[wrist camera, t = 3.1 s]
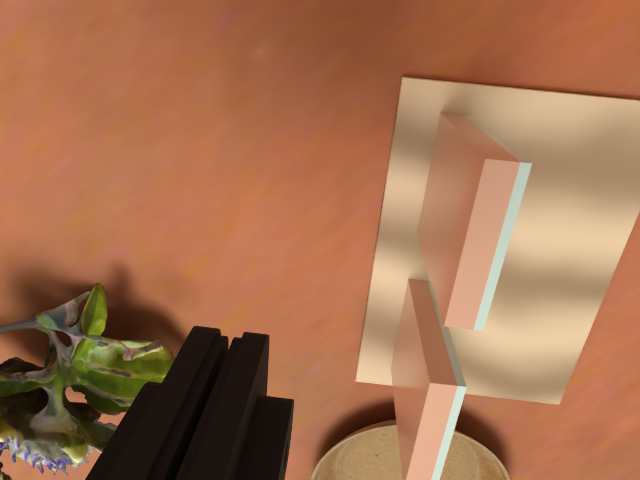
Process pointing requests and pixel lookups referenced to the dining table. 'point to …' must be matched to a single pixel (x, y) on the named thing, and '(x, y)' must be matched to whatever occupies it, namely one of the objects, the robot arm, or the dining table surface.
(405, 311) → the tile
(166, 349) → the passion flower
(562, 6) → the dining table surface
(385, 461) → the plant saucer
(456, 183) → the tile
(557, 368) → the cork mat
